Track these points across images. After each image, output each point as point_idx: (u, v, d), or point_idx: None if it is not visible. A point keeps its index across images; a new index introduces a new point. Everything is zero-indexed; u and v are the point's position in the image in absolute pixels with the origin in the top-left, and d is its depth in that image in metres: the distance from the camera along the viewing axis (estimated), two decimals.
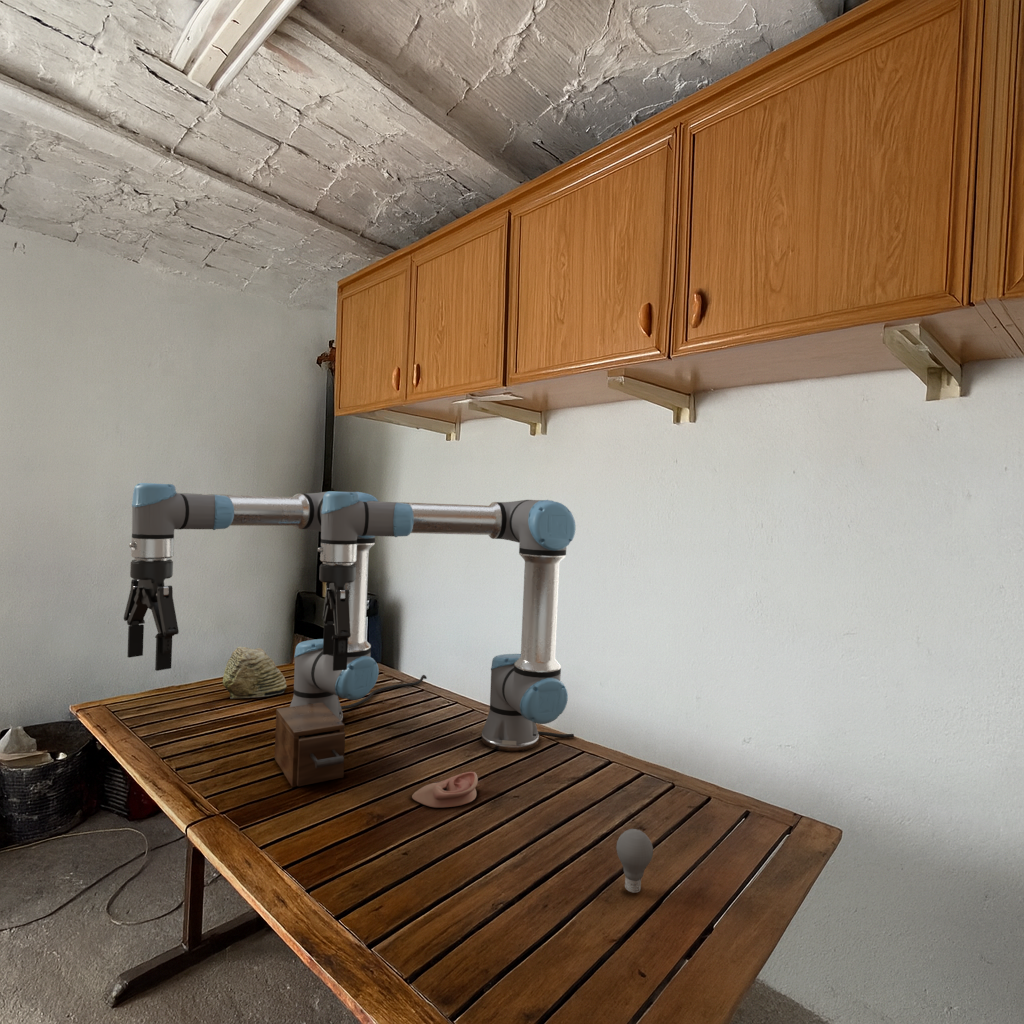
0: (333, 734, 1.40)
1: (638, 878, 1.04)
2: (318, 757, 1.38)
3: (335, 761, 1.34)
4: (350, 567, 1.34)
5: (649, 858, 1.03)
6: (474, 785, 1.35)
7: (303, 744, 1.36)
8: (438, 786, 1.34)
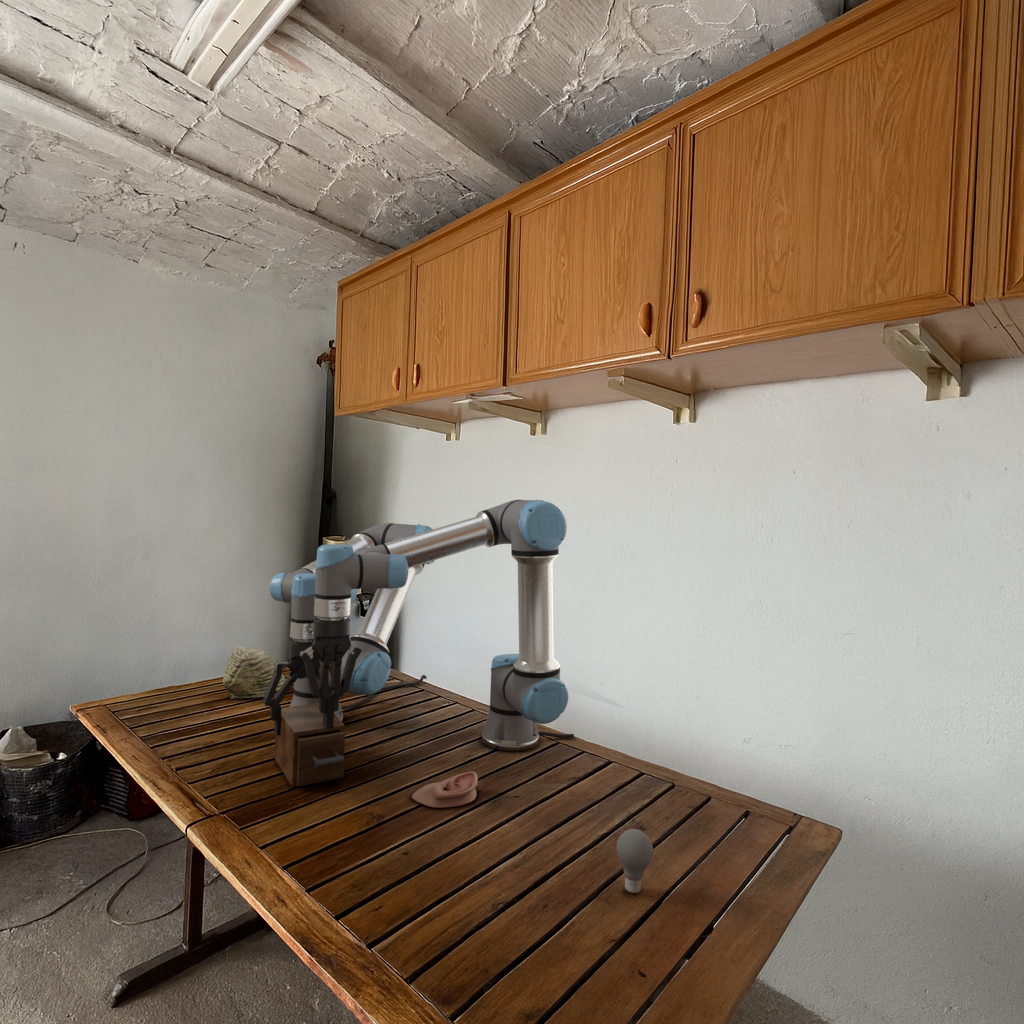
0: (333, 734, 1.40)
1: (638, 878, 1.04)
2: (318, 757, 1.38)
3: (335, 761, 1.34)
4: None
5: (649, 858, 1.03)
6: (474, 785, 1.35)
7: (303, 744, 1.36)
8: (438, 786, 1.34)
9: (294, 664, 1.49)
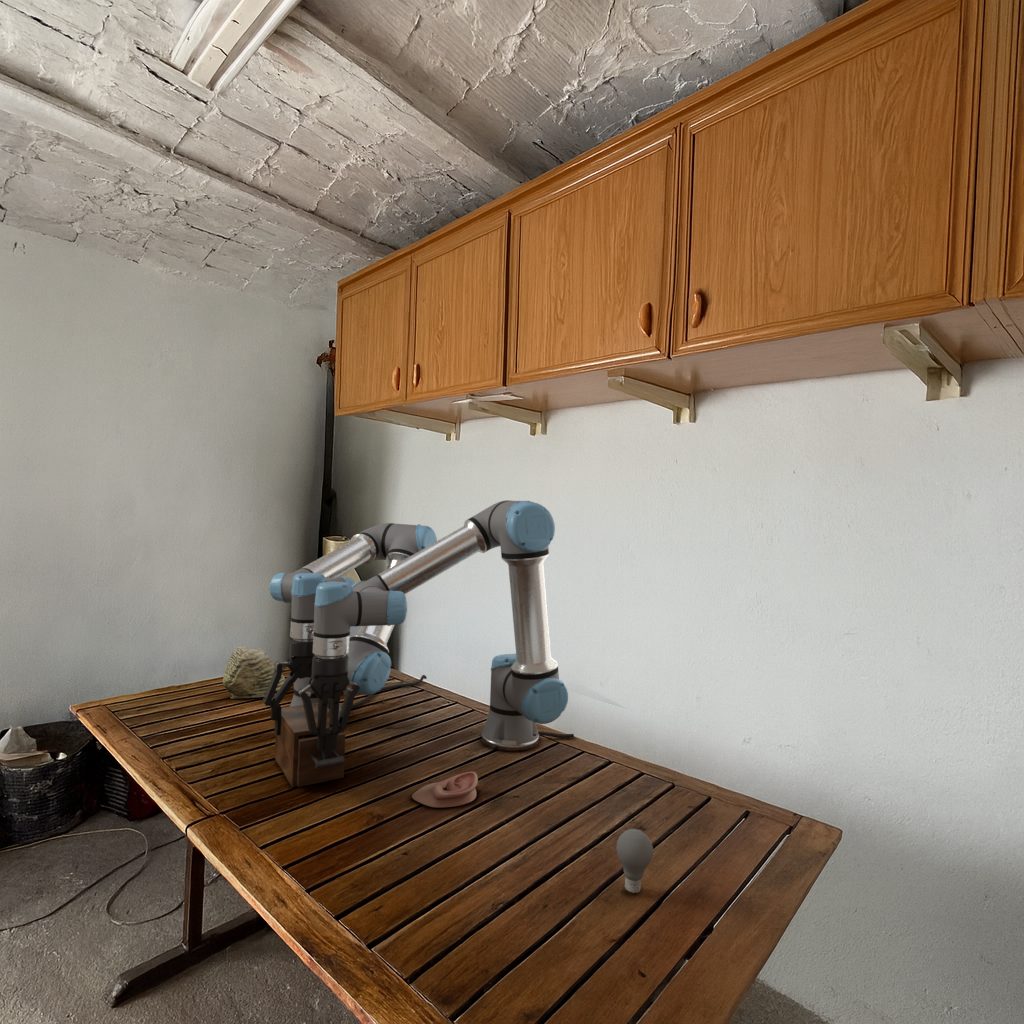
0: None
1: (638, 878, 1.04)
2: (319, 758, 1.38)
3: (335, 761, 1.34)
4: None
5: (649, 858, 1.03)
6: (474, 785, 1.35)
7: (303, 745, 1.36)
8: (438, 786, 1.34)
9: (294, 664, 1.49)
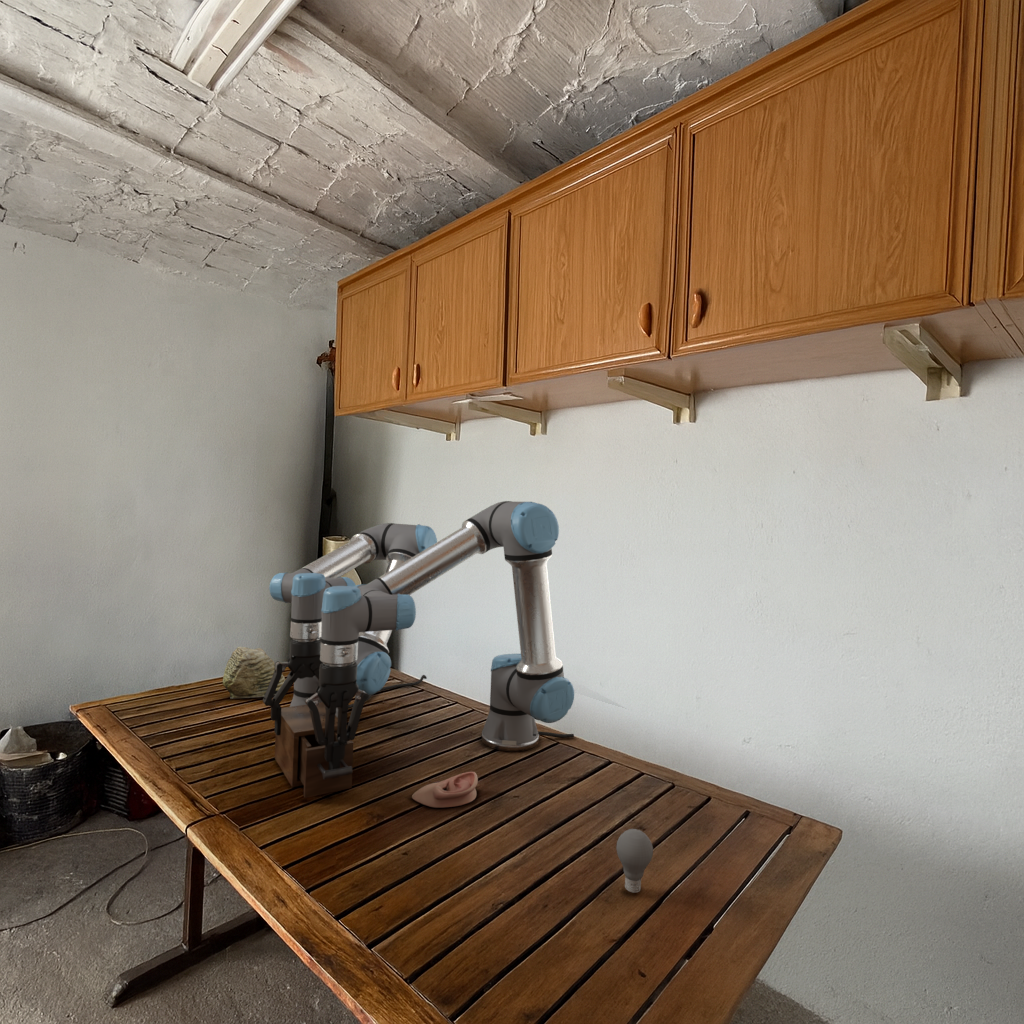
0: None
1: (638, 878, 1.04)
2: (326, 767, 1.33)
3: (343, 772, 1.29)
4: None
5: (649, 858, 1.03)
6: (474, 785, 1.35)
7: (310, 754, 1.31)
8: (438, 786, 1.34)
9: (294, 664, 1.49)
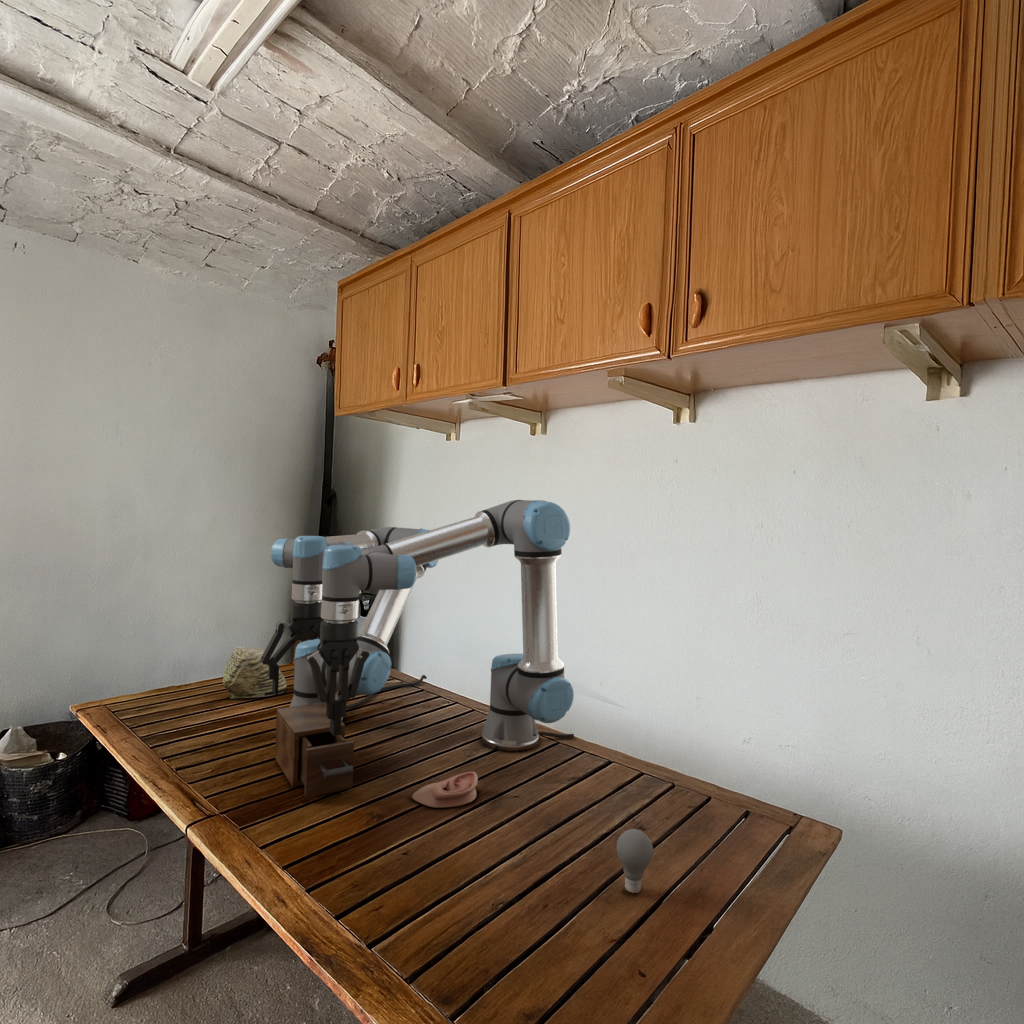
0: (342, 743, 1.35)
1: (638, 878, 1.04)
2: (327, 767, 1.33)
3: (344, 771, 1.29)
4: None
5: (649, 858, 1.03)
6: (474, 785, 1.35)
7: (311, 754, 1.31)
8: (438, 786, 1.34)
9: (296, 626, 1.49)
